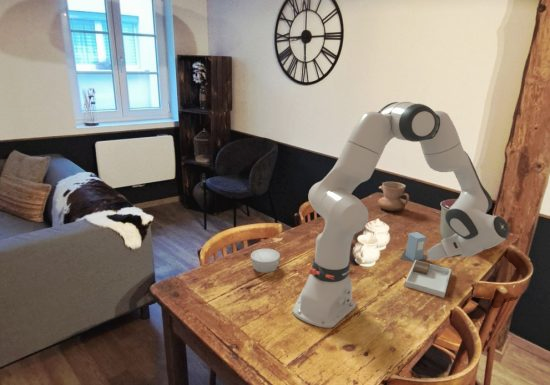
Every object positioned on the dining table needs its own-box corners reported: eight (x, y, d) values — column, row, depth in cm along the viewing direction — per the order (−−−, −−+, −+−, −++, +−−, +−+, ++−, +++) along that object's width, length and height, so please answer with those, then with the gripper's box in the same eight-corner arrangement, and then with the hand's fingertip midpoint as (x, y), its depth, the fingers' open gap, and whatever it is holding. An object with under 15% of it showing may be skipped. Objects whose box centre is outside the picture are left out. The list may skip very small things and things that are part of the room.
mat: (423, 266, 148) (423, 264, 148) (399, 260, 152) (400, 258, 152) (426, 256, 155) (427, 255, 155) (404, 251, 159) (405, 250, 159)
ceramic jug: (370, 207, 208) (372, 183, 203) (384, 201, 217) (387, 178, 213) (399, 217, 196) (403, 191, 191) (412, 210, 205) (416, 186, 200)
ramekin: (244, 266, 144) (244, 254, 142) (264, 257, 152) (265, 245, 150) (265, 278, 137) (265, 265, 135) (285, 267, 145) (285, 255, 143)
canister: (426, 233, 177) (433, 191, 170) (457, 230, 182) (465, 189, 175) (453, 251, 161) (462, 205, 154) (487, 246, 165) (497, 202, 159)
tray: (443, 299, 127) (445, 292, 126) (404, 287, 133) (405, 281, 132) (450, 275, 142) (451, 269, 141) (414, 265, 148) (415, 259, 147)
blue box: (422, 259, 152) (426, 237, 149) (413, 261, 150) (417, 238, 147) (413, 253, 156) (417, 232, 153) (405, 255, 155) (408, 233, 151)
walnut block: (426, 275, 140) (427, 269, 139) (412, 271, 143) (413, 265, 142) (428, 269, 144) (429, 263, 144) (415, 265, 147) (416, 260, 146)
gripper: (483, 231, 134) (456, 243, 146) (439, 239, 126) (415, 252, 138) (491, 247, 132) (463, 259, 143) (447, 257, 124) (422, 268, 136)
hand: (439, 255), depth 141 cm, fingers open, 8 cm apart
